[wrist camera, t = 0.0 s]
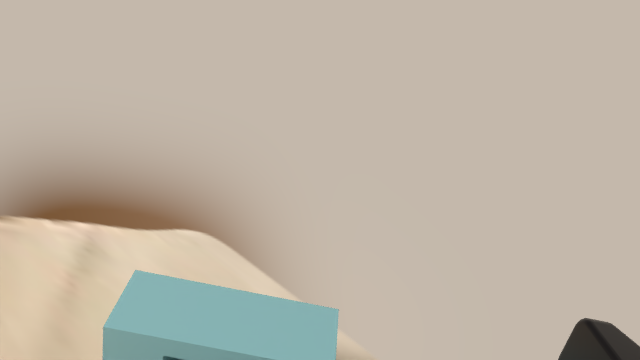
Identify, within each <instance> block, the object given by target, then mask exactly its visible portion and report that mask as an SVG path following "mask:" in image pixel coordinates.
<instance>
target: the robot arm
mask: <svg viewBox="0 0 640 360" xmlns="http://www.w3.org/2000/svg"><path fill="white" fill-rule="evenodd" d="M558 360H640V347H639V346H638V345H637V344H636V343H635V342H634V341H632V340H631V339H630V338H629V337H627V336H626V335H625V334H624V333H622V332H621V331H620V330H619V329H618V328H616V327H615V326H614V325H612V324H611V323H608V322H604V321H599V320H593V319H588V318H584V319H581V320H580V321H579V322H578V323H577V324H576V326H575V327H574V329H573V331H572V333H571V335H570V337H569V339H568V341H567V343H566V345H565V347H564V349H563V351H562V352H561V354H560V356H559V359H558Z"/></svg>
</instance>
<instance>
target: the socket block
mask: <svg viewBox="0 0 640 360" xmlns="http://www.w3.org/2000/svg"><path fill="white" fill-rule="evenodd" d="M338 311H339V310H338V309H333V308H329V307H324V306H318V305H313V304H308V303H303V302H298V301H293V300H288V299H282V298H277V297H272V296H267V295H262V294H257V293H251V292H246V291H241V290H236V289H231V288H226V287H220V286H215V285H210V284H205V283H200V282H195V281H189V280H184V279H179V278H174V277H169V276H164V275H158V274H153V273H148V272H143V271H138V270H135V272H134V273H133V275H132V277H131V279H130V280H129V282H128V284H127V286H126V288H125V289H124V291H123V293H122V295H121V296H120V298H119V300H118V302H117V304H116V305H115V307H114V309H113V311H112V312H111V314H110V316H109V318H108V320H107V321H106V323H105V325H104V327H103V360H336V346H337V328H338Z"/></svg>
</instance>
